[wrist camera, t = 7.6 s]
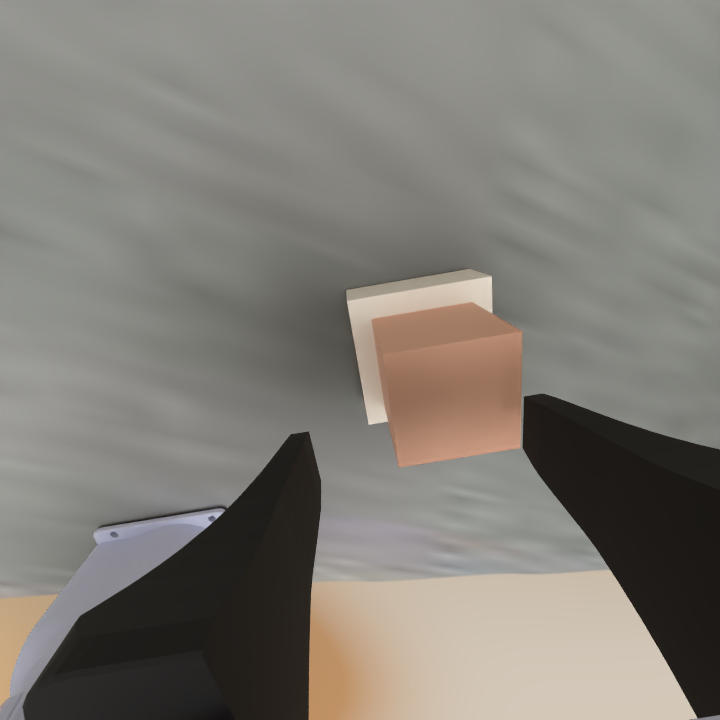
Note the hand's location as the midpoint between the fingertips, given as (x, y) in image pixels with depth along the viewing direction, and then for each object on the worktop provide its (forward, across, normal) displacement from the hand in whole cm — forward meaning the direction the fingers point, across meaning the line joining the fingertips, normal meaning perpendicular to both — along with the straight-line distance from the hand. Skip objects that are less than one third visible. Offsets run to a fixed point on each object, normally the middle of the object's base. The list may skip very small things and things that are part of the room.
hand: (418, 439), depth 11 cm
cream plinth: (+10, -2, 0) cm, 10 cm away
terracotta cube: (+7, -2, 0) cm, 7 cm away
